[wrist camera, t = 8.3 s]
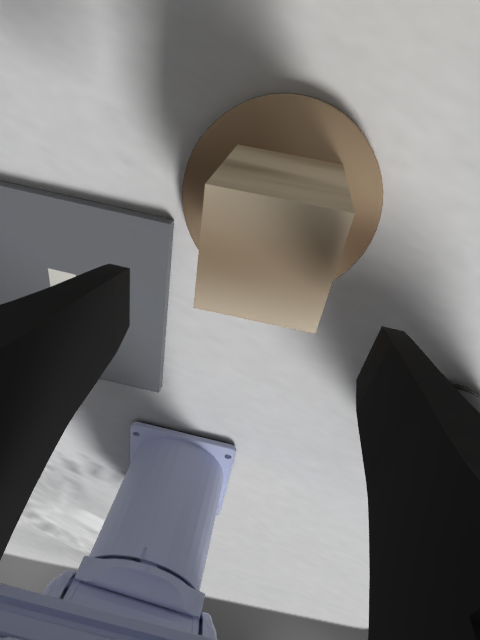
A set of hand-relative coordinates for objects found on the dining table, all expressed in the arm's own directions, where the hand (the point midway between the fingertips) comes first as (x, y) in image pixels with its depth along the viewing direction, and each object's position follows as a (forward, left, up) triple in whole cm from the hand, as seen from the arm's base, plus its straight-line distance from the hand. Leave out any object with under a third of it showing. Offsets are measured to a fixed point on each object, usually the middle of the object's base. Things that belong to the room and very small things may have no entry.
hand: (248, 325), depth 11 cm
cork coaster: (+1, 0, -9) cm, 9 cm away
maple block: (+1, 0, -9) cm, 9 cm away
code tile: (-7, +11, -9) cm, 16 cm away
